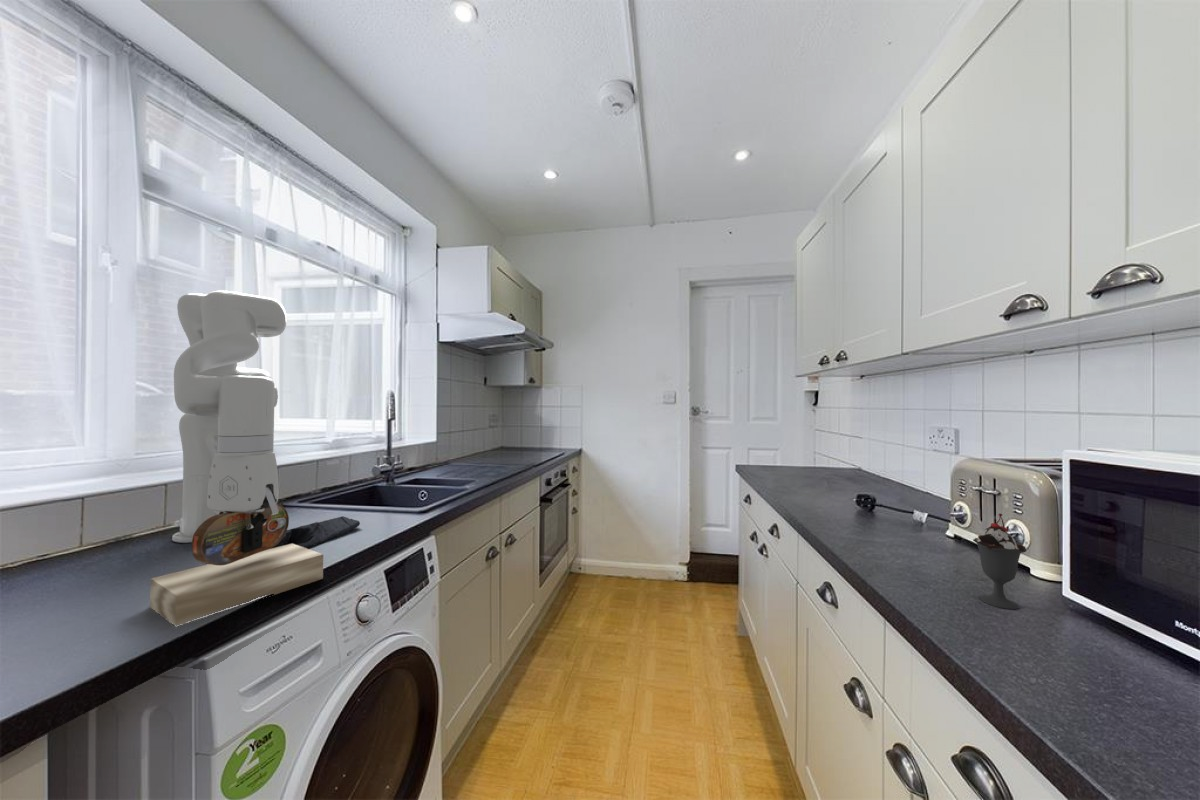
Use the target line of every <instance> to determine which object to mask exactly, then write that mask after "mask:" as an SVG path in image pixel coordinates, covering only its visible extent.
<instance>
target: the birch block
mask: <svg viewBox="0 0 1200 800" xmlns="http://www.w3.org/2000/svg"><path fill="white" fill-rule="evenodd" d="M323 579H324V554H323V553H320V552H318V551H315V550H312V549H309V548H304V547H301V546H298V545H295V544H288V545H284V546H280V547H276V548H272V549H268V550H265V551H262V552H259V553H256V554H254V555H251V556H248V557H246V558H243V559H240V560H238V561H235V562H232V563H230V564H227V565H221V566H218V565H213V564H204V565H199V566H195V567H191V568H188V569H184V570H179V571H177V572H176V571H175V572H172V573H167V574H164V575H158V576H155V577H152V578H150V593H149V595H150V596H149V599H150V600H149V608H150V609H151V610H153V611H154V610H155V611H154V612H156V613H157V614H158V613H159V614H160V615H159V614H158V615H159V616H161V617H162V616H163V617H164V619H165V618H166V619H167V620H168V621H170V622H171V623H173V624H174V625H176V626H177V625H180V624H184V623H186V622H188V621H192V620H194V619H197V618H200V617H203V616H206V615H209V614H212V613H215V612H218V611H221V610H224V609H226V608H230V607H233V606H236V605H240V604H242V603H246V602H249V601H251V600H253V599H256V598H258V597H262V596H265V595H269V594H274V595H273V596H275V595H278V594H281V593H284V592H287V591H290V590H292V589H296V588H299V587H302V586H305V585H308V584H311V583H315V582H317V581H320V580H323ZM163 617H162V618H163ZM166 619H165V620H166ZM167 620H166V621H167ZM168 621H167V622H168ZM170 622H169V623H170ZM171 623H170V624H171Z"/></svg>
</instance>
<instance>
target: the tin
mask: <svg viewBox="0 0 1200 800" xmlns="http://www.w3.org/2000/svg"><path fill="white" fill-rule="evenodd" d="M276 505H277V507H278V510H279V512H278V514H276V515H274V516H272V517H270V518H269V519H268V520H267V521H266V524H265V525H264V526H263V535H262V547H261V548H259V549H256V550H253V551H250V552H247V553H242V551H241V543H242V530H244V529H246V528H245V513H233V512H226V513H222V514H218V515H215V516H212V517H210V518H209V519H207V520H206V521H204V522H203V523H202V524H201V525H200V526H199V527H198V528H197V530H196V531H195V533H194V535H193V539H192V542H191V552H192V556H193V557H194V558H195V560H197V561H198V562H200V563H201V564H202V563H203V564H204V565H207V564H213V565H218V566H221V565H227V564H230V563H232V562H235V561H238V560H240V559H243V558H246V557H248V556H251V555H254V554H256V553H259V552H262V551H265V550H267V549H270V548H272V547H274V546H275V545H276V544H278V543H279V542H280V541H281V540H282V538H283V537H284V535H285V533H286V531H287V530H288V529H289V523H290V517H289V514H288V511H287V509H286V508H285V507H284V506H283V505H281V504H279V503H277V504H276ZM256 515H257V513H255V514H253V516H254V517H255V516H256Z"/></svg>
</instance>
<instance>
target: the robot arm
mask: <svg viewBox="0 0 1200 800" xmlns="http://www.w3.org/2000/svg"><path fill="white" fill-rule="evenodd" d="M177 316H178V319H179V322H180V325H181V328H182V329H183V332H184V333H185V335H186V338H187V340H188V344H189V347H187V348H186V349H185V350H184V351H183V352H182V353H181V354H180V355H179V357H178V358H177V360H176V362H175V365H174V368H173V369H174V370H173V392H174V394H173V396H174V401H175V406H176V407H177V409H178V410H179V411H180V412H181V413H184V414H183V415H182V416H181V418H180V419H179V422H178V423H179V424H178V430H179V431H178V432H179V436H180V441H181V442H180V443H181V447H182V503H181V504H182V507H181V508H182V509H181V517H180V519H179V520H178V519H177V520H175V521H174V522H173V525H174V526H175V527H179V531H178V532H175V533H174V534H172V536H171V537H172V538H171V539H172V542H175V543H179V544H180V543H183V544H184V543H185V544H186V543H187V544H188V543H189V544H190V543H192V539H193V535H194V533H195V531H196V530H197V528H198V527H199V526H200V525H201V524H202V523H203V522H204V521H206V520H207V519H209V518H210V517H212V516H215V515H218V514H222V513H226V512H233V513H245V528H246V529H244V530H242V543H241V551H242V553H247V552H250V551H253V550H256V549H259V548H261V547H262V535H263V526H264V525H265V524H266V521H267V520H268V519H269V518H270V517H272V516H274V515H276V514H278V512H279V510H278V507H277V505H276V504H278V500H279V471H278V463H277V458H276V454H275V452H274V443H275V442H274V438H275V437H274V436H275V435H274V434H275V408H276V406H277V404H278V399H279V395H278V392H279V391H278V388H277V386H275V382H274V381H273V378H272V376H271V374H270V373H269V372H268V371H266V370H264V369H260V368H254V367H239V366H238V363H240V362H244V361H247V360H250V359H251V358H252V357H255V355H256V354H257V353H258V351H259V348H260V342H259V338H272V337H277V336H279V335H282V334H283V333H284V332H285V329H286V326H287V319H288V318H287V313H286V310H285V307H284V306H283V304H282V303H281V302H280V301H278V300H277V299H275V298H272V297H266V296H260V295H254V294H248V293H243V292H238V291H229V290H216V291H215V290H214V291H211V292H209V293H207V294H206V293H205V294H203V293H188V294H183V295H181V296H180V297H179V298H178V300H177ZM255 513H257V515H256V516H255V517H254V516H253V514H255Z"/></svg>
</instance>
